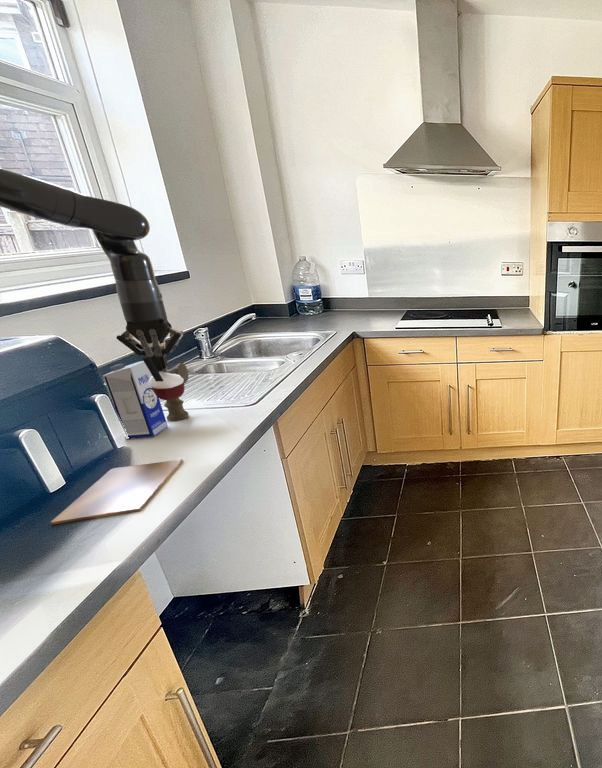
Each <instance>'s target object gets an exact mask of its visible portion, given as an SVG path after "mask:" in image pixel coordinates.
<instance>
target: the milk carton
mask: <svg viewBox="0 0 602 768" xmlns="http://www.w3.org/2000/svg"><path fill="white" fill-rule="evenodd" d="M109 370H110V372H108V373H106V374H103V375H102V378H103V382H104V384H105V387H106V390H107V389H108V390H107V393H108V392H109V393H108V395H109V398H110V397H111V398H110V400H111V399H112V401H111V403H112V402H113V404H114V406H115V409H116V411H117V413H118V415H119V417H120V419H121V421H122V423H123V425H124V428H125V429H126V432H127V434H128V437H129V439H128V440H132V439H131V438H136V439H144V438H145V439H146V438H147V439H148V438H155V437H156V436H157V435H158V434H160V433H161V432H163V431H164V430H165V429H166V428H168V427H169V426H168V422H167V418H166V415H165V413H164V409H163V406H162V404H161V399H160V398H158V397H157V396H156V395H155V393H154V392H153V390H152V386H150V385H149V381H148V380H149V379H150V378H151V376H152V375H151V372H150V371H149V369H148V368H147V366H146V364H145V363H144V361H143V360H140V361H137V362H134V363H131V364H128V365H125V364H124V363H118V364H115V365H112V366H110V367H109ZM113 404H112V405H113ZM115 409H114V410H115ZM167 426H168V427H167ZM164 428H165V429H164ZM163 429H164V430H163Z"/></svg>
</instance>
